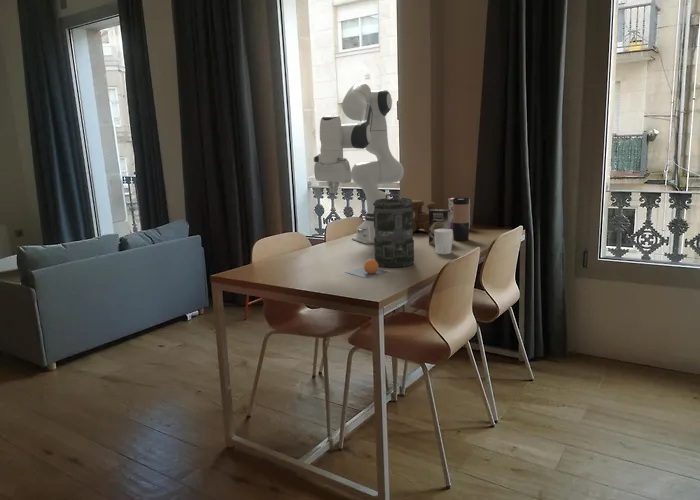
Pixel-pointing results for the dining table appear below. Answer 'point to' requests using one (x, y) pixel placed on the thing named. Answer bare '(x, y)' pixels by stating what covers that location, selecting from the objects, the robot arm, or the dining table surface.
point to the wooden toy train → (421, 215)
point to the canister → (393, 232)
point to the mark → (363, 273)
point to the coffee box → (438, 222)
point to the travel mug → (460, 219)
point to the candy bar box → (450, 207)
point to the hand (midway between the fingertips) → (333, 193)
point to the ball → (371, 266)
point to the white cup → (443, 241)
